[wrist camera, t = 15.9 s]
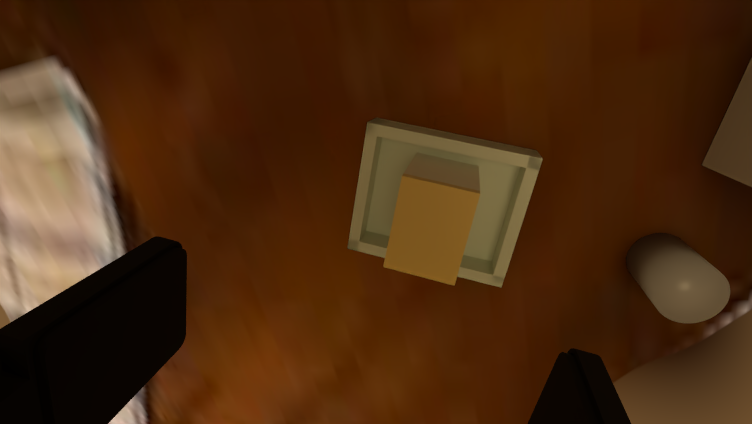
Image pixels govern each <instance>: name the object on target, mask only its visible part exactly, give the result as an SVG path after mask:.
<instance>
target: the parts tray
mask: <svg viewBox="0 0 752 424" xmlns="http://www.w3.org/2000/svg"><path fill="white" fill-rule="evenodd" d="M417 152H418V153H422V154H427V155H431V156H436V157H440V158H445V159H449V160H454V161H458V162H463V163H467V164H472V165H477V166H479V179H480V197H479V201H478V204H477V208H476V211H475V215H474V218H473V222H472V225H471V229H470V232H469V236H468V240H467V243H466V247H465V250H464V254H463V257H462V261H461V264H460V268H459V271H458V275H457V276H458V277H462V278H466V279H470V280H473V281H477V282H481V283H485V284H489V285H493V286H497V287H502V284H503V281H504V278H505V275H506V272H507V269H508V266H509V262H510V259H511V256H512V253H513V250H514V247H515V244H516V241H517V238H518V234H519V231H520V228H521V225H522V222H523V219H524V216H525V213H526V210H527V206H528V203H529V200H530V197H531V194H532V191H533V188H534V185H535V182H536V178H537V175H538V172H539V169H540V166H541V163H542V160H543V158H542V157H541V156H540V154H539V153H538V152H537V150H532V149H527V148H522V147H518V146H513V145H508V144H503V143H498V142H493V141H488V140H483V139H479V138H474V137H469V136H464V135H459V134H454V133H449V132H444V131H440V130H435V129H430V128H425V127H420V126H415V125H410V124H405V123H401V122H396V121H391V120H386V119H381V118H374V119H373V120H371V121H369V122H367V128H366V135H365V141H364V147H363V154H362V160H361V166H360V172H359V179H358V185H357V191H356V198H355V204H354V210H353V216H352V223H351V229H350V235H349V242H348V249H351V250H355V251H359V252H363V253H367V254H371V255H375V256H379V257H383V258H385V256H386V251H387V246H388V241H389V236H390V231H391V227H392V222H393V217H394V212H395V207H396V202H397V197H398V193H399V188H400V183H401V178H402V175H403V173H404V172H405V170H406V169H407V167H408V166H409V164H410V162H411V161H412V159H413V158H414V156H415V155H416V153H417Z"/></svg>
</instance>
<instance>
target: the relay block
mask: <svg viewBox="0 0 752 424" xmlns="http://www.w3.org/2000/svg"><path fill="white" fill-rule="evenodd" d="M479 197H480V179H479V166H477V165H472V164H467V163H463V162H458V161H454V160H449V159H445V158H440V157H436V156H431V155H427V154H422V153H418V152H417V153H416V155H415V156H414V158H413V159H412V161H411V162H410V164H409V166H408V167H407V169H406V170H405V172H404V173H403V175H402V178H401V183H400V188H399V193H398V197H397V202H396V207H395V212H394V217H393V222H392V227H391V231H390V236H389V241H388V246H387V251H386V256H385V261H384V266H383V267H385V268H389V269H393V270H397V271H400V272H404V273H408V274H412V275H416V276H419V277H423V278H427V279H431V280H435V281H438V282H442V283H446V284H450V285H453V286H455V282H456V279H457V275H458V271H459V268H460V264H461V261H462V257H463V254H464V250H465V247H466V243H467V240H468V236H469V232H470V229H471V225H472V222H473V218H474V215H475V211H476V208H477V204H478V201H479Z"/></svg>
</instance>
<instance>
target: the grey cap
mask: <svg viewBox="0 0 752 424" xmlns="http://www.w3.org/2000/svg"><path fill="white" fill-rule="evenodd" d="M626 265H627V269H628V271H629V272H630V274H631V275H632V276H633V278H634V279H635V280H636V282H637V283H638V284H639V286H640V287H641V288H642V290H643V291H644V292H645V294H646V295H647V296H648V298H649V299H650V300H651V301H652V303H653V304H654V305H655V307H656V308H657V309H658V311H659V312H660V313H661V314H662V315H663V316H665V317H666V318H668V319H670V320H673V321H676V322H680V323H697V322H701V321H705V320H707V319H710V318H711V317H713V316H715V315H716V314H718V313H719V312H720V311H721V310H722V309H723V308H724V307H725V305H726V304H727V302H728V300H729V296H730V286H729V283H728V281H727V279H726V278H725V276H724V275H723V274H722V273H721V272H719V271H718V270H717V269H716V268H715V267H713V266H712V265H711V264H710V263H709V262H707V261H706V260H705V259H704V258H703V257H701V256H700V255H699V254H698V253H697V252H695V251H694V250H693V249H692V248H691V247H690V246H688V245H687V244H686V243H685V242H684V241H682V240H681V239H680V238H678V237H676V236H674V235H671V234H667V233H655V234H650V235H647V236H645V237H643V238H641V239H639V240H638V241H636V242H635V243H634V244H633V245H632V246H631V248H630V249H629V251H628V253H627V257H626Z"/></svg>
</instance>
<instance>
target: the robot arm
mask: <svg viewBox="0 0 752 424" xmlns="http://www.w3.org/2000/svg"><path fill="white" fill-rule="evenodd" d="M186 280H187V253H186V251H185V250H184V249H182V246H181V244H180V243H179V242H177V241H173V240H170V239H166V238H162V237H153V238H151V239H150V240H148V241H146V242H145V243H143V244H141V245H140V246H138V247H136V248H135V249H133V250H131V251H130V252H128V253H126V254H125V255H123V256H121V257H120V258H118V259H116V260H115V261H113V262H111V263H110V264H108V265H106V266H105V267H103V268H101V269H100V270H98V271H96V272H95V273H93V274H91V275H90V276H88V277H86V278H85V279H83V280H81V281H79V282H78V283H76V284H74V285H73V286H71V287H69V288H68V289H66V290H64V291H63V292H61V293H59V294H58V295H56V296H54V297H53V298H51V299H49V300H48V301H46V302H44V303H43V304H41V305H39V306H38V307H36V308H34V309H33V310H31V311H29V312H28V313H26V314H24V315H23V316H21V317H19V318H18V319H16V320H14V321H13V322H11V323H9V324H8V325H6V326H4V327H3V328H1V329H0V424H108V423H109V422H110V421H111V420H112V419H113V418H114V417H115V416H116V415H117V414H118V412H119V411H120V410H121V409H122V408H123V407H124V406H125V405H126V404H127V403H128V402H129V401H130V400H131V399H132V398H133V397H134V396H135V395H136V394H137V393H138V391H139V390H140V389H141V388H142V387H143V386H144V385H145V384H146V383H147V382H148V381H149V380H150V379H151V378H152V377H153V376H154V375H155V374H156V373H157V372H158V371H159V369H160V368H161V367H162V366H163V365H164V364H165V363H166V362H167V361H168V360H169V359H170V358H171V357H172V356H173V355H174V354H175V353H176V352H177V351H178V350H179V348H180V347H181V346H182V344H183V342H184V340H185V336H186ZM528 424H631V423H630V420H629V418H628V416H627V414H626V411H625V409H624V407H623V405H622V403H621V400H620V398H619V396H618V394H617V392H616V390H615V387H614V385H613V383H612V381H611V379H610V376H609V374H608V372H607V370H606V368H605V366H604V363H603V361H602V359H601V358H600V356H598V355H596V354H592V353H588V352H585V351H581V350H577V349H574V348H573V349H570V350H569V351H568V353H564V352H562V353H560V354H559V356H558V358H557V360H556V362H555V364H554V367H553V369H552V371H551V373H550V375H549V378H548V380H547V382H546V384H545V386H544V389H543V391H542V393H541V395H540V398H539V400H538V402H537V404H536V406H535V409H534V411H533V413H532V415H531V418H530V420H529V422H528Z"/></svg>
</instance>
